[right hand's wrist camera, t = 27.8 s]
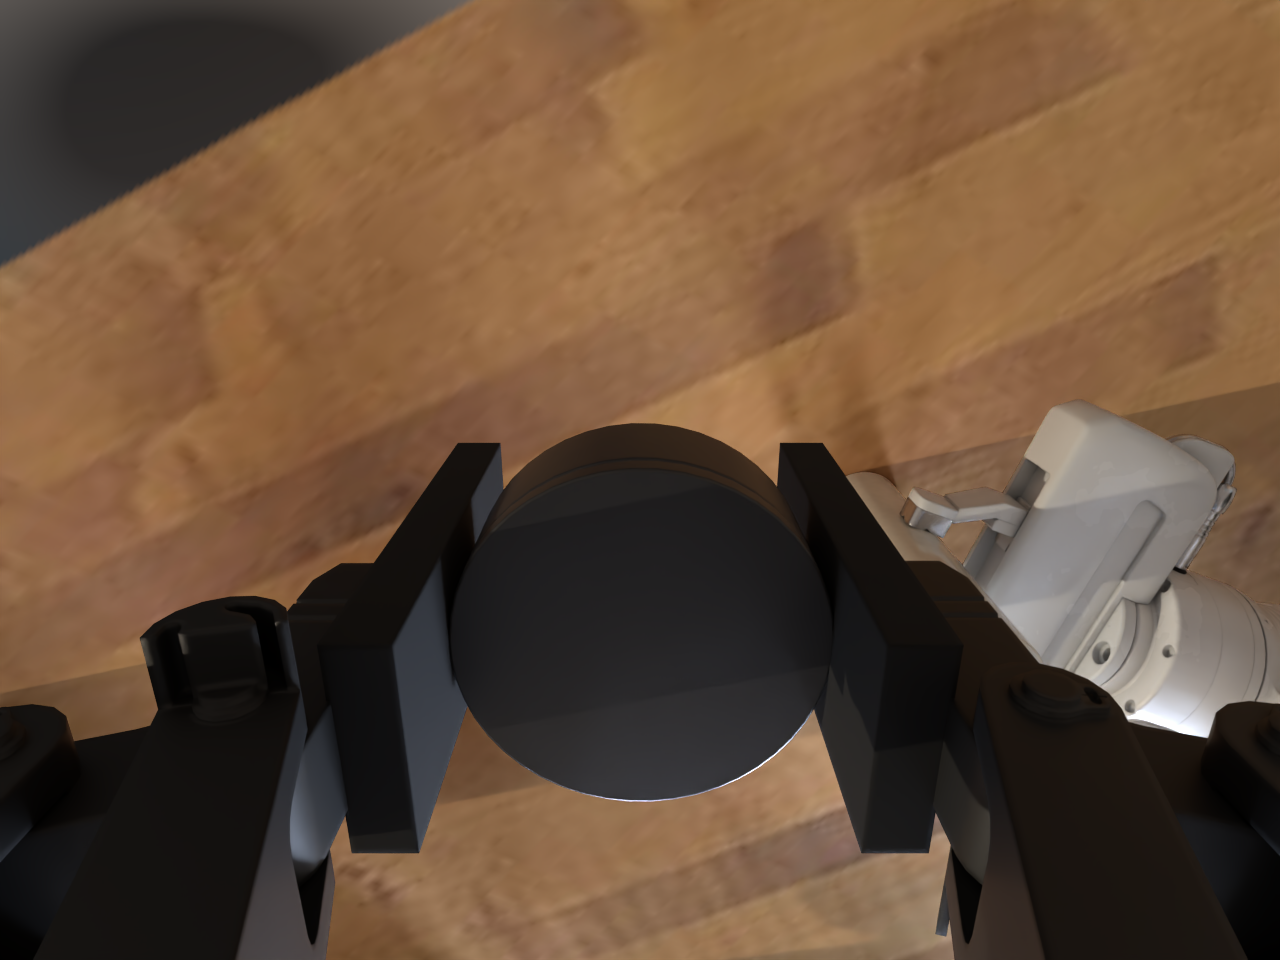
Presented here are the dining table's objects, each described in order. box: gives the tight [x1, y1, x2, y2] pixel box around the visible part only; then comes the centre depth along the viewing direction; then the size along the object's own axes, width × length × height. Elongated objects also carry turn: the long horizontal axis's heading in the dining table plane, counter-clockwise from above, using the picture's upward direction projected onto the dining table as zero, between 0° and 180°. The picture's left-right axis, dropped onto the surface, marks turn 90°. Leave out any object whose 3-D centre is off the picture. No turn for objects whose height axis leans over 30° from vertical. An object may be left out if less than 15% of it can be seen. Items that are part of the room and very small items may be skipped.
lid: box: [449, 423, 834, 801], centre depth 11 cm, size 5×5×2 cm
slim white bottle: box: [846, 472, 1043, 664], centre depth 35 cm, size 4×4×18 cm
